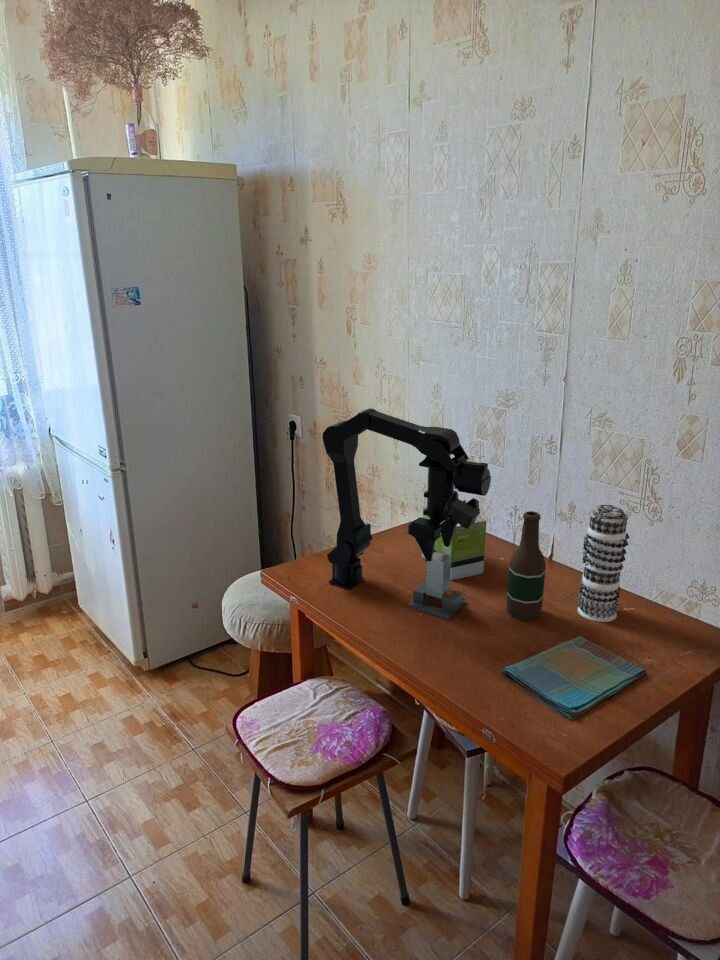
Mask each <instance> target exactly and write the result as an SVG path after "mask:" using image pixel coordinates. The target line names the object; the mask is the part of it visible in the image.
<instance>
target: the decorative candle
mask: <svg viewBox="0 0 720 960" xmlns="http://www.w3.org/2000/svg"><path fill="white" fill-rule="evenodd" d="M588 515H589V516H590V519H589V524H588V526H587V533H586V534H585V536H584V537H583V544H582V545H583V547H582V548H583V550H584V551H583V552H582V554H583V555H582V565H583V566H584V568H583V573H582V579H581V580H580V582H579V583H580V584H579V586H580V587H579V594H578V601H577V613H578V614H579V615H580V617H583V618H584V619H586V620H588V621H589V620H590V621H592V622H600V623H607V622H611V621H614V620H615V619H616V618H617V612H618V611H619V609H618V606H619V598H620V597H621V595H620V592H621V586H620V582H621V580H620V577H621V572H622V570H623V569H624V565H623V562H625V561H626V556H625V555H627V551H626V550H627V549H626V547H627V546H629V543H628V539H630V535H629V534H628V533H627V523H628V520H629V516H628V515H627V514H626V513H625V511H624V510H623V509H622V508H621V507H620V506H616V505H613V504H601V505H600V504H599V505H597V506H596V507H594V508H593V509H591V510H590V511H589V512H588Z"/></svg>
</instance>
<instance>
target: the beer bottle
mask: <svg viewBox="0 0 720 960" xmlns="http://www.w3.org/2000/svg"><path fill="white" fill-rule="evenodd" d="M541 518H542V517H541V514H540V513H539V512H536V511H525V512H524V513H523V515H522V519H523V524H522V529H521V537H520V543H519V546H518V548H517V549H516V550H515V551H514V552H513V554H512V556H511V558H510V561H509V564H508V565H509V567H508V578H507V591H506V592H507V593H506V609H505V610H506V612H507V613H508V614H509V616H510V617H511V619H516V620H519V621H521V622H529V621H536V620H537V619H538V618H539V617H540V615H541V614H542V609H543V599H544V588H545V580H546V579H545V578H546V567H547V566H546V559H545V557H544V554H543V552H542V551H541V550H540V537H539V536H540V520H541Z"/></svg>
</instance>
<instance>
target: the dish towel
mask: <svg viewBox="0 0 720 960" xmlns="http://www.w3.org/2000/svg"><path fill="white" fill-rule="evenodd" d="M642 675H647V669H646V668H643V667H640V666H638V665H637V664H635V663H632V662H631V661H629V660H627V659H625V658H623V657H621V656H619V655H617V654H615V653H613V652H611V651H610V650H607V649H606V648H604V647H602V646H600V645H598V644H596V643H593V641H589V640H588V639H586V638H584V637H583V636H582V635H578V636H576V637H574V638H571V639H570V640H567V641H564V642H561V643H559V644H557V645H554V646H553V647H550V648H548V649H546V650H543V651H541V652H539V653H537V654H534V655H533V656H530V657H528V658H526V659H523V660H521V661H519V662H516V663H514V664H511V665H508V666H505V667H504V668H503V669H502V670H501V676H502V678H503V679H506V680H508V681H510V682H511V683H513V684H515V685H516V686H517V687H519V688H521V689H522V690H524V691H525V692H527V693H528V694H529V695H531V696H532V697H533V698H535V699H536V700H538V701H540V702H541V703H542V704H544V705H545V706H547V707H548V708H550V709H551V710H552V711H554V712H555V713H558V714H559V715H561V716H562V717H563V718H565V719H569V720H572V721H573V720H575V719H577V718H579V716H582V714H584V713H585V712H588V711H589V710H591V709H592V708H594V707H595V706H596V705H597V704H599V703H601V702H602V701H604V700H605V699H607V698H609V697H610V696H613V695H614V694H616V693H619V691H620V690H622V689H624V688H626V687H628V686H630V685H631V684H633V683H634V682H636V681H637V680H639V679H640V677H641V676H642ZM642 677H643V676H642ZM642 677H641V678H642ZM638 678H639V679H638ZM635 680H636V681H635ZM632 682H633V683H632ZM630 683H631V684H630ZM629 684H630V685H629ZM627 685H628V686H627Z"/></svg>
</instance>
